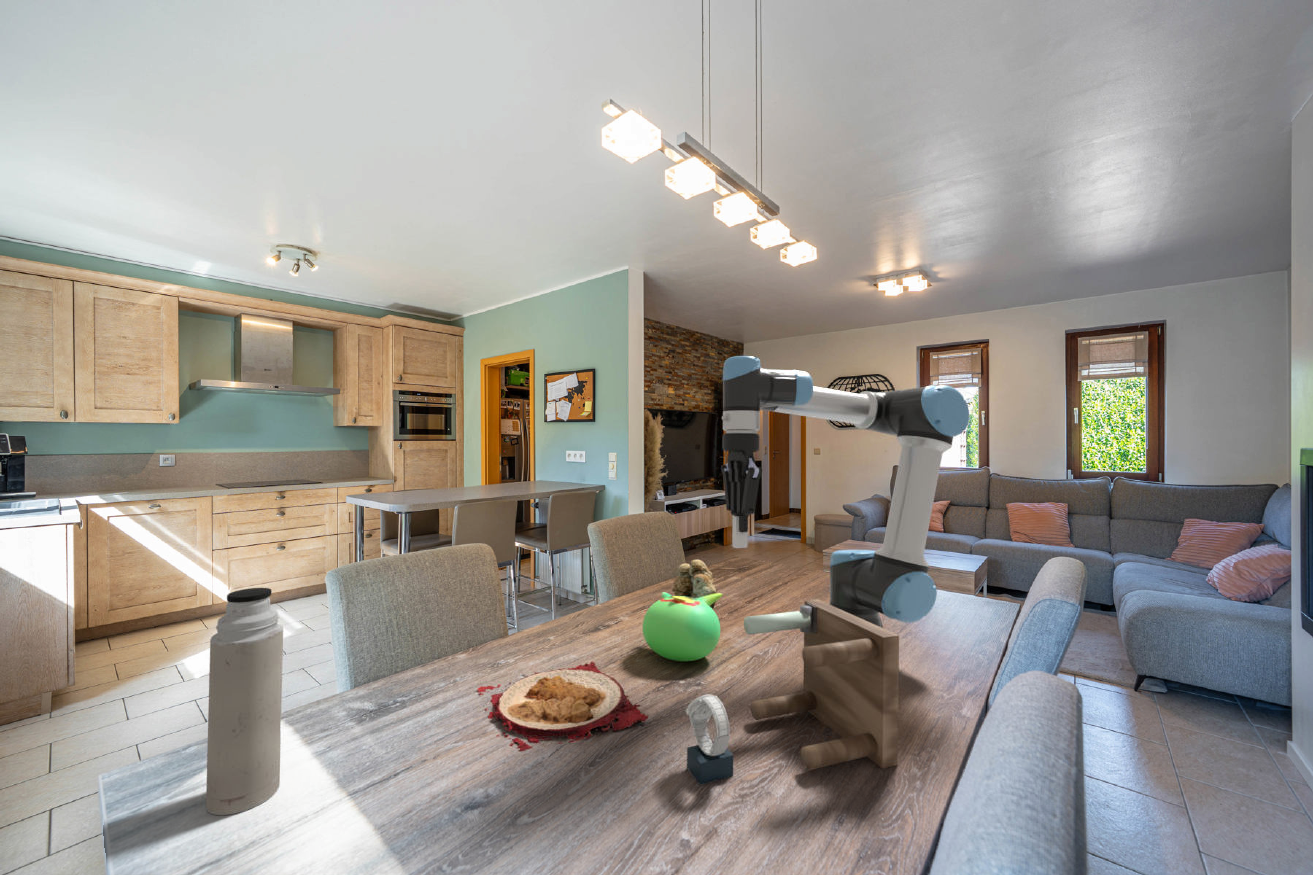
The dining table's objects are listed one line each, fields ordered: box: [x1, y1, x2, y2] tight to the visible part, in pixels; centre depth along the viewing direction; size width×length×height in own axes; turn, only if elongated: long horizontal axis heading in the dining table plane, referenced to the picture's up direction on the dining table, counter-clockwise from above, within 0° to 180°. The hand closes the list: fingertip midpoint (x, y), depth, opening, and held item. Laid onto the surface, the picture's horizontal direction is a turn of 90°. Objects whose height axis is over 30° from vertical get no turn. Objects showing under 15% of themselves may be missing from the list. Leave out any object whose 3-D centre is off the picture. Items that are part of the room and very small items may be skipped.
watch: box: [685, 694, 734, 786], centre depth 80 cm, size 6×8×11 cm
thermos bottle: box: [205, 587, 284, 816], centre depth 73 cm, size 8×8×28 cm
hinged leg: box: [743, 605, 812, 636], centre depth 96 cm, size 13×3×4 cm, turn 110°
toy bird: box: [642, 591, 723, 662], centre depth 123 cm, size 18×17×15 cm
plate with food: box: [477, 661, 649, 752], centre depth 99 cm, size 25×26×4 cm
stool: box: [749, 599, 900, 771], centre depth 89 cm, size 15×20×20 cm
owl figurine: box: [671, 559, 721, 623], centre depth 148 cm, size 18×12×17 cm, turn 34°
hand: (739, 547), depth 109 cm, fingers closed
